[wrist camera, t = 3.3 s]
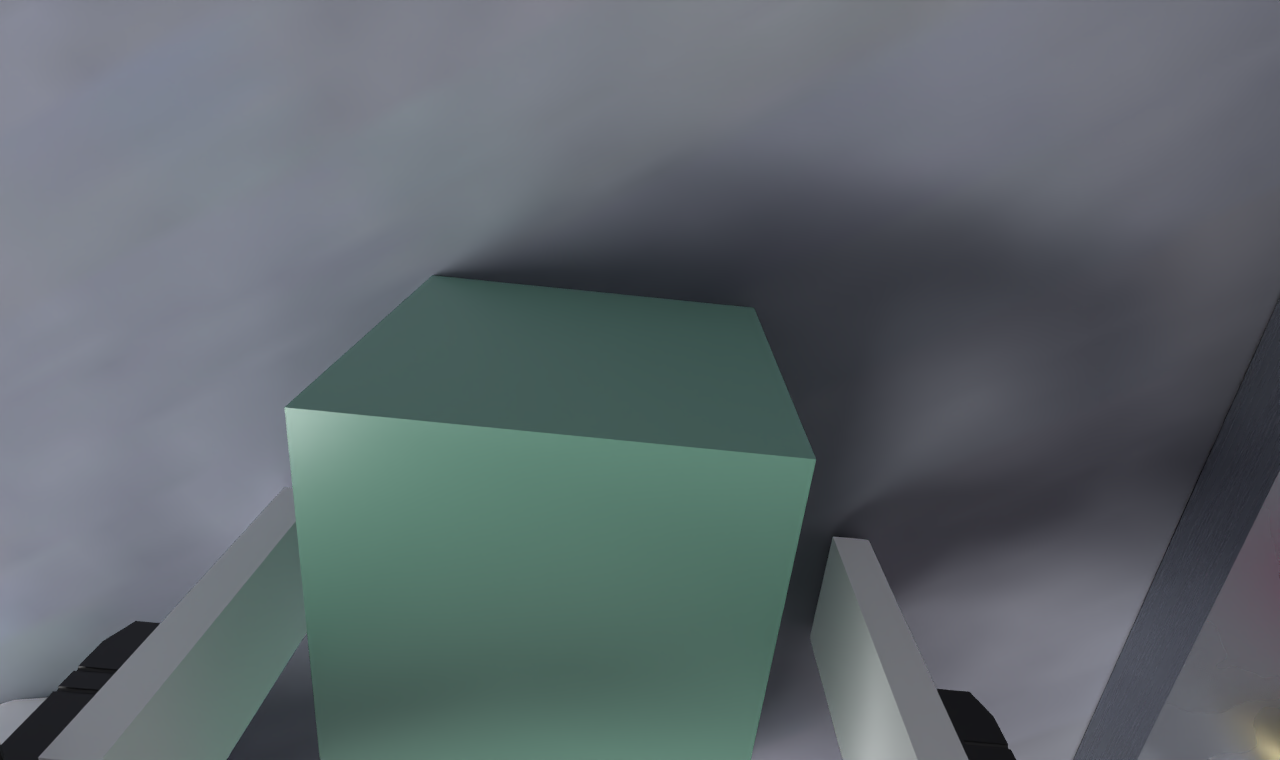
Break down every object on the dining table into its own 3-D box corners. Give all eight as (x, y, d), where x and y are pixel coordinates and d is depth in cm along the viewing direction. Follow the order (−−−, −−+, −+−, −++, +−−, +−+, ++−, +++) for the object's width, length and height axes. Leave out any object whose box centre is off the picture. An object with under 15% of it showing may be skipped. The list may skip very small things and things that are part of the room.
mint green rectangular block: (435, 272, 14) (284, 407, 8) (753, 304, 14) (815, 459, 8) (440, 738, 18) (346, 1024, 13) (678, 760, 18) (686, 1053, 13)
